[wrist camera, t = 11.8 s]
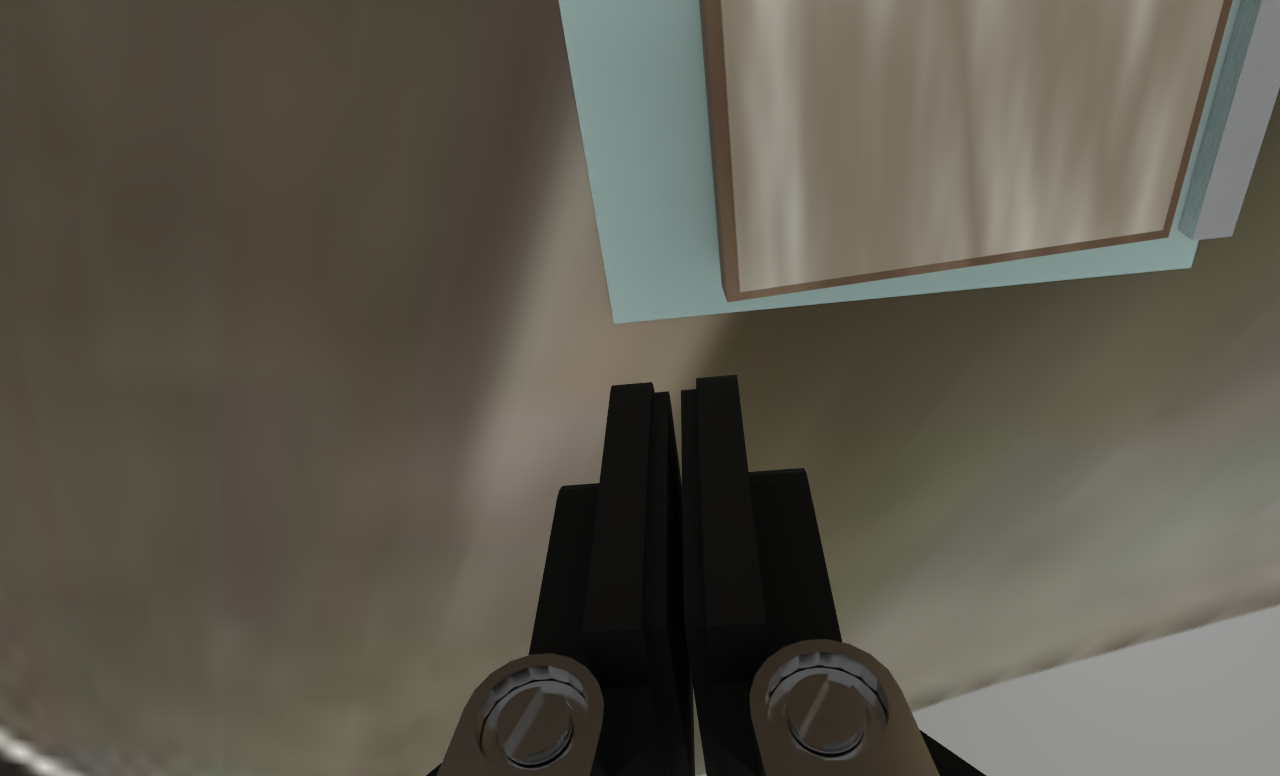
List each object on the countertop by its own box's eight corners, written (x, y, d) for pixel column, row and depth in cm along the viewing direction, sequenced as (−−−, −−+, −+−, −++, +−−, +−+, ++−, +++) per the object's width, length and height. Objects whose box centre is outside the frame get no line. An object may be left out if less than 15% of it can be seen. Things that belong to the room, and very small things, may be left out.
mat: (1336, -256, 19) (1345, -257, 19) (1185, 263, 27) (1190, 267, 27) (537, -129, 21) (536, -129, 21) (614, 319, 29) (613, 323, 29)
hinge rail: (1332, -183, 20) (1366, -185, 19) (1210, 221, 26) (1232, 236, 25) (1281, -176, 20) (1313, -177, 19) (1172, 226, 26) (1192, 240, 25)
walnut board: (1278, -145, 19) (701, -55, 19) (1172, 240, 24) (728, 305, 25) (1237, -144, 20) (694, -60, 20) (1145, 223, 25) (721, 285, 26)
